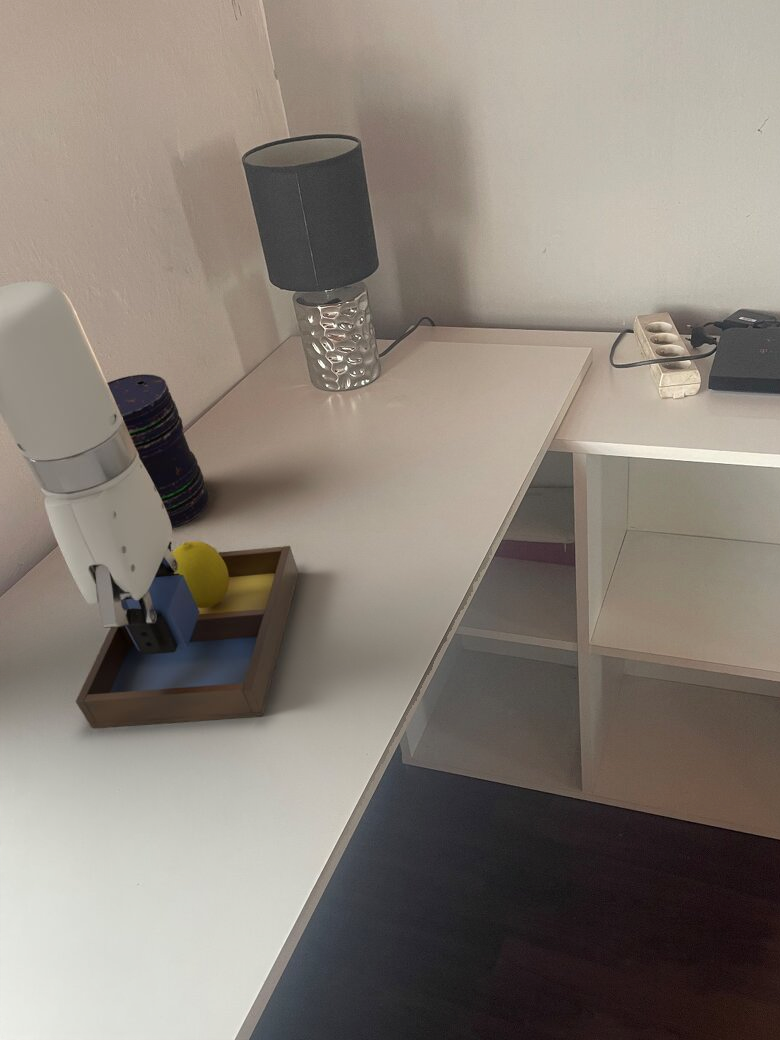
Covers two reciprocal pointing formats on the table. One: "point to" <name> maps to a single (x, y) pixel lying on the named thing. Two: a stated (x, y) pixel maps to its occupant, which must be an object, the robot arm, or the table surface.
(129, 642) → the sorting tray
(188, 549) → the lemon
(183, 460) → the storage jar
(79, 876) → the table surface
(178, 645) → the blue block
